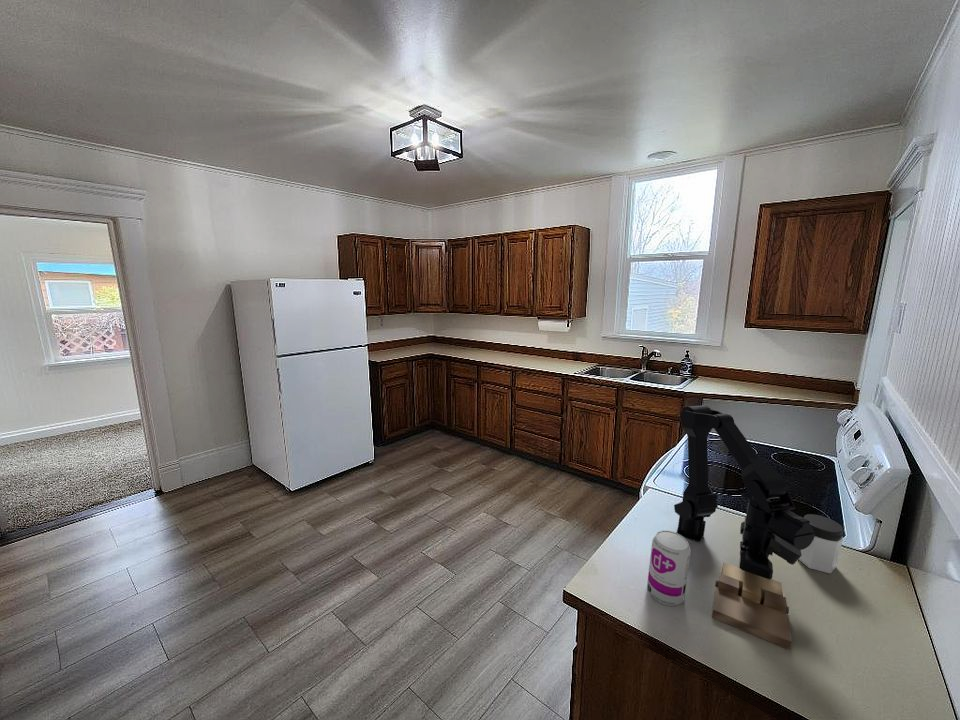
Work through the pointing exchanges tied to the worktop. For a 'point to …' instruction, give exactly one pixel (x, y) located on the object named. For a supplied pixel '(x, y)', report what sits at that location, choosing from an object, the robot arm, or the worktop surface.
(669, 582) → the supplement can
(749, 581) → the tan block
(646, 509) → the worktop surface
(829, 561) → the jar
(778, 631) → the fixed leaf
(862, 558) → the worktop surface
